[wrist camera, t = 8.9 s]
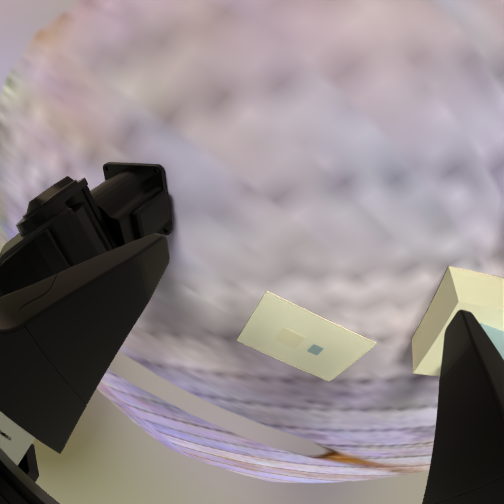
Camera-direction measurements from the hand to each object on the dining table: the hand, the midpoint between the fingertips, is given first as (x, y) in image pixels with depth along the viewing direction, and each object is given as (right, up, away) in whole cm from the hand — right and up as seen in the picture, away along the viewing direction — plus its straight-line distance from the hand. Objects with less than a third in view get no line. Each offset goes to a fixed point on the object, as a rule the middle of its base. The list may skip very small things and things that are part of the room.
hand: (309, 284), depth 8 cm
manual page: (+4, -8, +22) cm, 24 cm away
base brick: (+18, -5, +13) cm, 23 cm away
